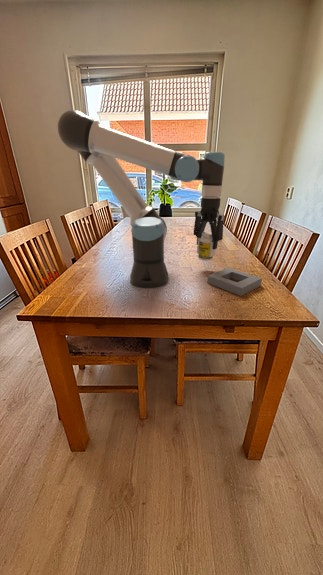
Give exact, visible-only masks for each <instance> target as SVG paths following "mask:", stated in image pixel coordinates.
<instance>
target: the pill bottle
mask: <svg viewBox="0 0 323 575" xmlns="http://www.w3.org/2000/svg"><path fill="white" fill-rule="evenodd" d="M211 241H213V240H212V233H211V231H204V232H203V233H202V238H201V239H200V242H199V253H197V254H198V255H197V258H198V259H199V260H201V261H206V262H207V261H208V262H209V261H212V260H213V259H214V258H213V257H214V256H213V257H209V255H210V244H211Z"/></svg>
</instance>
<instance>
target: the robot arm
mask: <svg viewBox="0 0 323 575" xmlns="http://www.w3.org/2000/svg"><path fill="white" fill-rule="evenodd" d="M57 133H58V136H59V138H60V140H61V142H62V143H63V145H65V146H66V147H67V148H69V149H71V150H73V151H76V152H78V154H79V155H80V156H81V157H82V159H83V160H84V162H85V163H86V165H91V166H93V168H94V169H95V170H96V172H97V173H98V175H99V176H100V177H101V179H102V180H103V182H104V183H105V184H106V186H107V187H108V189H109V190H110V192H111V193H112V194H113V195H114V197H115V198H116V200H117V202H118V203H119V204H120V206H121V207H122V208H123V210H124V211H125V212H126V214H127V215H128V216H129V219H130V223H129V224H130V226H131V239H132V240H131V241H132V256H133V264H132V268H131V272H130V275H129V278H130V279H129V280H130V283H131V284H132V285H133V286H136V287H139V288H145V289H146V288H147V289H149V288H157V287H161V286H165V285H167V283H168V282H169V272H168V269H167V266H166V264H165V238H166V236H167V233H168V229H167V228H168V227H167V224H166V222H165V220H164V218H163V217H161V216H160V215H159V214H158V212H157V211H156V210H155V208H154V207H153V206H149V205H147V203H146V201H145V200H144V198H143V197H142V195H141V194H140V192H139V191H138V190H137V188H136V187H135V185H134V184H133V182H132V181H131V179H130V178H129V176H128V175H127V174H126V172H125V169H123V167H122V166H121V165H120V163H119V161H118V160H120V161H122V162H123V161H124V162H127V163H129V164H133V165H135V166H139V167H141V168H143V169H148V170H150V171H154V172H156V173H160V174H163V175H165V176H168V177H171V180H173V181H180V182H182V183H183V182H184V183H190V182H193V181H202V182H201V193H200V196H201V198H200V208H201V209H200V210H199V211H198V210H197V211H195V212H194V217H195V218H194V226H193V232H192V234H193V236H195V237H196V245H197V247H196V248H197V249H196V253H197V254H199V242H200V239H201V238H202V233H203V232H205V229H206V227H207V223H208V224H209V225H210V230H211V231H210V232H211V233H212V240H213V241H211V244H210V255H209V257H216V250H218V245H219V244H218V242H219V241H223V239H224V238H223V235H224V221H225V217H226V215H224V214H221V213H220V210H219V209H220V208H221V200H222V199H221V198H220V197H221V196H222V189H223V188H222V187H223V181H224V179H223V178H224V172H225V156H226V155H225V153H224V152H221V151H207V152H205V153H204V155H203V157H201V158H199V157H198V158H195V156H192V155H190V154H188V155H187V154H185V153H181V152H177V151H175V150H173V149H169V148H166V147H164V146H161V145H158V144H156V143H153V142H149V141H147V140H144V139H141V138H138V137H136V136H132V135H129V134H127V133H125V132H122V131H118V130H115V129H112V128H109V127H106V126H103V125H102V124H101V123H100V122H99V120H97V119H95V118H93V117H92V116H88V115H86V114H85V113H83V112H82V111H80V110H75V109H71V110H69V109H68V110H67V111H65V112H63V113H62V114H61V115H60V116H59V119H58V122H57Z"/></svg>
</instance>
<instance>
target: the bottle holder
mask: <svg viewBox="0 0 323 575" xmlns="http://www.w3.org/2000/svg"><path fill="white" fill-rule="evenodd" d="M206 280H207V281H206V282H207V284H209V285H212V286H215V287H217V288H219V289H222V290H224V291H227V292H230V293H231V294H235V295H237V296H240V297H242V296H243V295H244V296H245V295H246V294H247V293H250V292H251V291H253V290H255V289H257V288H259V287H261V286H262V281H263V278H262V277H259V276H256V275H253V274H250V273H247V272H244V271H241V270H237V269H234V268H231V267H226V268H224V269H221V270H219V271H216V272H213V273H211V274H209V275H207V279H206ZM236 281H237V282H236Z"/></svg>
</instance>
